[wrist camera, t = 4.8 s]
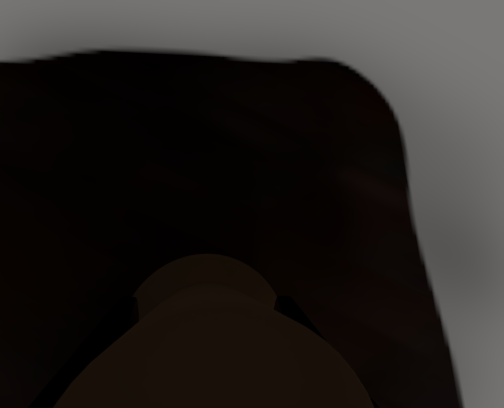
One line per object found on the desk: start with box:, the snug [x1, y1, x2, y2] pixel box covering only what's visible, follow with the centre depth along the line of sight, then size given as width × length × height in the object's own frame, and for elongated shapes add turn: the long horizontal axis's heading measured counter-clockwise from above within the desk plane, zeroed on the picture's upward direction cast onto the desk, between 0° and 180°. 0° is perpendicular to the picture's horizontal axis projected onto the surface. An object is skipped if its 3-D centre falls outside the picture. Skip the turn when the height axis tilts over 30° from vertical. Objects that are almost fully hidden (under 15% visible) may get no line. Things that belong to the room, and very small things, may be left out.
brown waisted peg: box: [53, 254, 375, 408], centre depth 9 cm, size 6×6×12 cm
